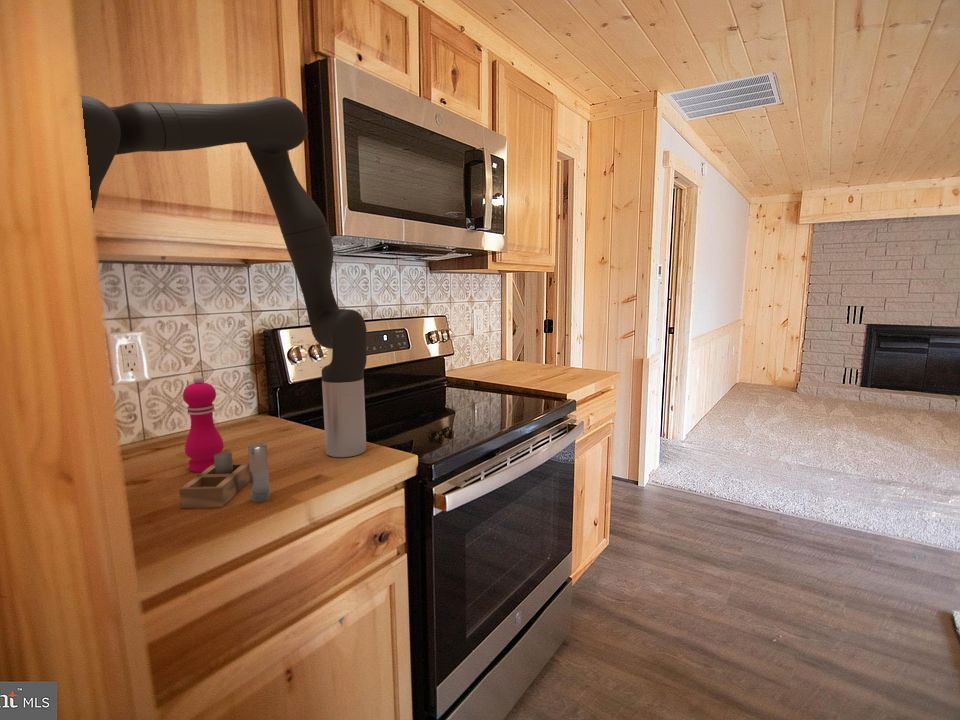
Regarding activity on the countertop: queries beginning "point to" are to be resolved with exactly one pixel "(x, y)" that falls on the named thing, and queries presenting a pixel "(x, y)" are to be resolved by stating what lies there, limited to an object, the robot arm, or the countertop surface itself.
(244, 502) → the countertop surface
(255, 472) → the pin
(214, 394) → the pepper mill
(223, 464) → the wooden divided tray
